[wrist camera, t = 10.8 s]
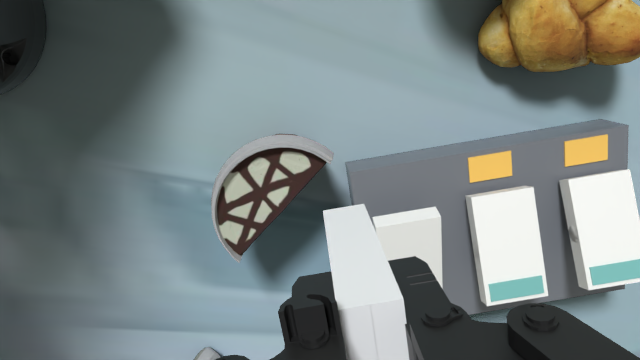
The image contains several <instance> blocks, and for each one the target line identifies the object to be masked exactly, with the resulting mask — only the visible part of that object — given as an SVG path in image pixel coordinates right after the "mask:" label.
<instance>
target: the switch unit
mask: <svg viewBox="0 0 640 360" xmlns="http://www.w3.org/2000/svg"><path fill="white" fill-rule="evenodd" d="M345 164H346V170H347V177H348V184H349V190H350V197H351V203H352V206H353V205H359V204H364V205H365V207H366V210H367V212H368V215H369V217H370V219H371V222H372V224H373V219H372V217H376V216H382V215H388V214H394V213H400V212H406V211H412V210H417V209H423V208H429V207H435V206H436V208H437V210H438V212H439V214H440V216H441V235H442V284H443V291H444V292H445V294H446V296H447V297H448V299H449V301H450V302H451V303H452V304H455V305H457V306H459V307H461V308H462V309H464V310H465V311H466V312H467V314H468V315H470V314H476V313H482V312H488V311H494V310H500V309H506V308H512V307H517V306H519V305H524V304H530V303H535V304H536V303H542V302H548V301H554V300H560V299H566V298H572V297H578V296H584V295H590V294H596V293H602V292H608V291H614V290H620V289H625V284H624V285H618V286H612V287H606V288H600V289H594V290H587V289H584V288H581V287H579V285H578V279H577V274H576V268H575V263H574V258H573V252H572V247H571V242H570V236H569V231H568V225H567V220H566V215H565V209H564V204H563V199H562V193H561V188H560V182H559V180H563V179H569V178H575V177H581V176H587V175H593V174H599V173H605V172H611V171H617V170H627V165H628V125H625V124H620V123H616V122H612V121H607V120H603V119H599V120H593V121H587V122H581V123H575V124H569V125H563V126H557V127H551V128H545V129H539V130H533V131H528V132H522V133H516V134H510V135H504V136H498V137H492V138H486V139H480V140H474V141H468V142H462V143H456V144H451V145H445V146H439V147H433V148H427V149H421V150H415V151H409V152H403V153H397V154H391V155H385V156H380V157H374V158H368V159H362V160H356V161H350V162H345ZM520 186H530V187H534V194H535V202H536V209H537V216H538V223H539V231H540V238H541V245H542V253H543V260H544V267H545V274H546V282H547V289H548V296H545V297H539V298H533V299H527V300H521V301H516V302H510V303H504V304H498V305H492V306H486V305H485V304H484V303H483V302H482V301H481V298H480V292H479V285H478V278H477V271H476V264H475V258H474V251H473V244H472V237H471V231H470V224H469V217H468V210H467V203H466V197H465V196H467V195H473V194H478V193H484V192H490V191H496V190H502V189H508V188H514V187H520Z"/></svg>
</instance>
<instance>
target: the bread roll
mask: <svg viewBox="0 0 640 360" xmlns="http://www.w3.org/2000/svg"><path fill="white" fill-rule="evenodd" d="M478 47H479V50H480V52H481V54H482V55H483V56H484V57H485V58H486V59H487V60H489V61H490V62H492V63H493V64H496V65H498V66H500V67H516V66H519V65H522V66H523V67H524V68H526V69H527V70H529V71H532V72H554V71H562V70H567V69H571V68H575V67H579V66H586V65H588V64H589V63H590V61H591V62H592V63H594V64H599V65H617V64H622V63H627V62H631V61H633V60H635V59H637V58H639V57H640V7H639V6H638V5H637V4H635V3H634V2H633V1H631V0H502V4H500V5H499V6H497V7H496V8H495V9H494V10H493V11H492V12H491V13H490V15H489V16H488V18H487V19H486V20H485V22H484V24H483V26H482V27H481V29H480V31H479V34H478Z"/></svg>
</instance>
